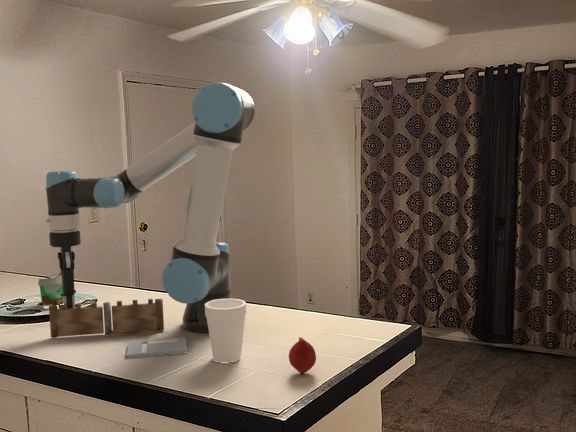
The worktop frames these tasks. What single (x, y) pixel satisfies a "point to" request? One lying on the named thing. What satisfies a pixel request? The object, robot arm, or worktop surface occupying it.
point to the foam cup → (226, 328)
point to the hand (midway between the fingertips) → (70, 318)
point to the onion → (302, 356)
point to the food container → (51, 290)
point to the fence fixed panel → (134, 318)
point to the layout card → (156, 347)
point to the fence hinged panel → (76, 320)
